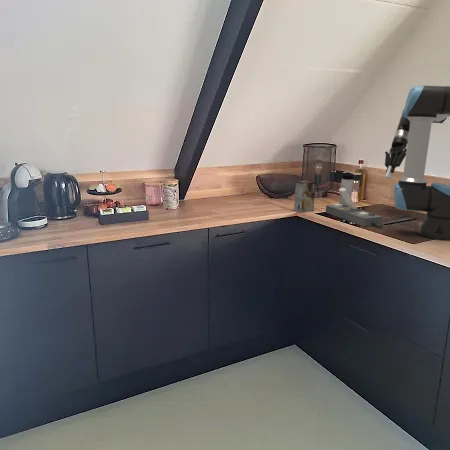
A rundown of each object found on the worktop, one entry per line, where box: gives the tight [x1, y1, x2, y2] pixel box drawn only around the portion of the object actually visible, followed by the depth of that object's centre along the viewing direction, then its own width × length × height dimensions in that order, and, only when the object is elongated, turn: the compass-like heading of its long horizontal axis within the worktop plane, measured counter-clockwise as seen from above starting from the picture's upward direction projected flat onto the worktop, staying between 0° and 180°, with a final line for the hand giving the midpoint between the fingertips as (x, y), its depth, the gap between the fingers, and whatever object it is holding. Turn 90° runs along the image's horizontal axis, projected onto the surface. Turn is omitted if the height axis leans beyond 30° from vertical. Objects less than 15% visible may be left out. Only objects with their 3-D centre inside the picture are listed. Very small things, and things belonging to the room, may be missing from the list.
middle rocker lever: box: [338, 187, 358, 211], centre depth 215 cm, size 4×2×14 cm
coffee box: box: [293, 180, 317, 213], centre depth 230 cm, size 9×6×16 cm
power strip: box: [325, 203, 384, 229], centre depth 216 cm, size 36×11×5 cm, turn 24°
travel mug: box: [338, 171, 355, 205], centre depth 241 cm, size 6×7×20 cm
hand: (387, 177), depth 220 cm, fingers closed
